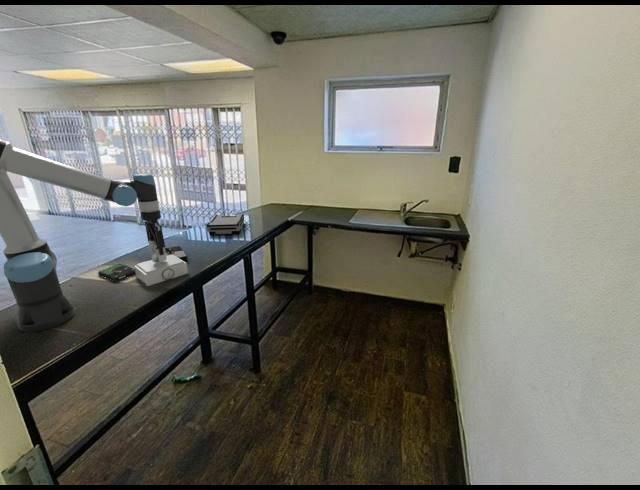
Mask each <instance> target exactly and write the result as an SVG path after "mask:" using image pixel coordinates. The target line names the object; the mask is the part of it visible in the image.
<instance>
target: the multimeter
mask: <svg viewBox="0 0 640 490" xmlns="http://www.w3.org/2000/svg"><path fill="white" fill-rule="evenodd" d="M165 251H166V256H168V255H174V256H176V257H178V258H179V259H181V260H183V261H184V262H186V263H188V262H189V261H188V256H187V254H186V253H185V252H184V250H183V248H182V247H181V246H180V245H178V246H172V247H166V248H165Z"/></svg>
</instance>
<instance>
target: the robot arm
mask: <svg viewBox="0 0 640 490" xmlns="http://www.w3.org/2000/svg"><path fill="white" fill-rule="evenodd" d="M8 173H11V174H15V175H19V176H22V177H25V178H29V179H32V180H36V181H39V182H43V183H46V184H50V185H54V186H57V187H60V188H64V189H67V190H71V191H74V192H76V193H77V192H78V193H81V194H85V195H88V196H92V197H95V198H99V199H102V200H104V201H106V202H108V201H109V202H112V203H116V204H117V205H118V206H121V207H130V206H132V205H134V204H135V203H136V201H137V203H138V209H139V211H140V217H141V218H140V219H141V220H142V221H144V226H145V232H146V236H147V242H148V241H149V240H152V239H155V242H156V245H157V248H156V249H157V254H158V260H159V262H162V261H166V259H165V254H164V248H163V247H166V243H165V237H164V234H163V227H162V225H160V223H159V221H158V220H160V219H161V218H162V215H161V210H160V206H159V204H160V201H159V199H158V194H157V187H156V186H157V185H156V182H155V181H156V180H155V178H154V176H153V175H152V174H150V173H135V174H133V176H132V179H127V180H113V179H110V178H106V177H103V176H101V175H98V174H95V173H92V172H89V171H85V170H83V169H79V168H77V167H73V166H71V165H67V164H64V163H61V162H59V161H56V160H53V159H49V158H46V157H43V156H41V155H38V154H35V153H32V152H28V151H27V150H23V149H20V148H16V147H15V146H13V144H11V143H10V141H7V140H4V139H0V236H1V239H2V240H3V242H4V243H5V246H6V247H5V248H4V249H3V250H2V251H3V254H4V256H5V258H6V261H5V262H4V264H3V267H2V269H3V273H4V276H5V277H6V279H7V282H8V284H9V286H10V289H11V290H10V291H11V292H12V295H13V297H14V299H15V302H16V304H17V314H16V315H17V317H16V325H17V328H18V329H19V331H21V332H25V333H33V332H41V331H45V330H49V329H51V328H54V327H57V326H59V325H61V324H64V323H65V322H67V321H69V320H70V319H72V317H74V316H75V315H76V308H75V306H74V304H73V303H72V302H71V301H70V300H69V299H68V298H67V297H66V295H64V293H63V290H62V286H61V283H60V281H59V277H58V274H57V265H58V263H57V262H58V259H57V257H56V255H55V253H54V252H53V251H52V250H51V248H50V246H49V244H48V242H47V240H45V239H42V238H41V237H39V236H38V234H37V232H36V228H35V227H34V225H33V224H32V221H31V220H30V218H29V215H28V213H27V211H26V209H25V207H24V205H23V203H22V201H21V199H20V197H19V195H18V193H17V191H16V189H15V187H14V185H13V183H12V181H11V179H10V177H9V175H8Z"/></svg>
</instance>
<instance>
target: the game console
mask: <svg viewBox="0 0 640 490" xmlns="http://www.w3.org/2000/svg"><path fill="white" fill-rule="evenodd" d="M244 220H245V214H244V213H243V214H236V215H223V214H215V216H214V217H213V218H212V219H211V220H210V221H209V222H207V224H206V225H205V226H206V232H208V234H209V237H210V236H220V235H226V234H227V235H230V236H233V235H235V236H237V235H240V233H241V231H242V229H243V226H244Z"/></svg>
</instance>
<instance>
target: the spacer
mask: <svg viewBox="0 0 640 490" xmlns="http://www.w3.org/2000/svg"><path fill="white" fill-rule="evenodd" d="M147 242H148V246H149V252H150V256H151V260H152V262H159V260H158V254H157V249H156V248H157V245H156V242H155V239H152V240H149V241H148V240H147ZM165 247H166V246H165ZM165 247H163V248H164V254H165V259H166V260H167V257H166V251H165ZM162 262H163V261H162Z"/></svg>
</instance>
